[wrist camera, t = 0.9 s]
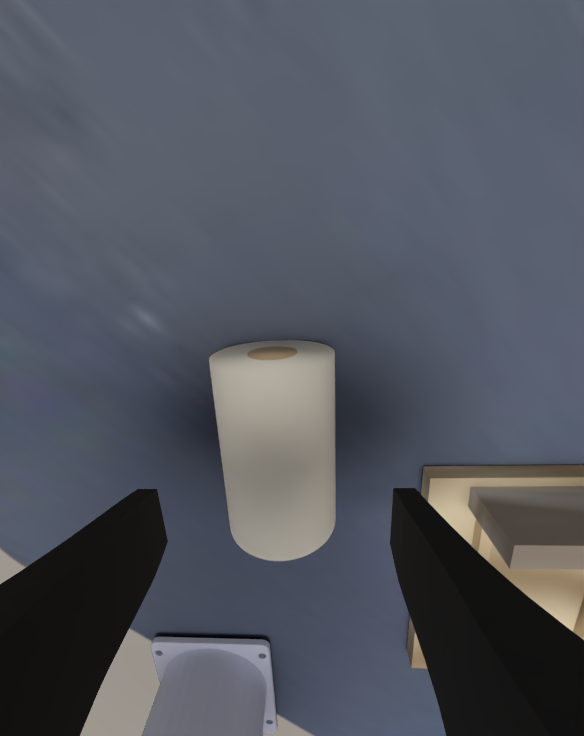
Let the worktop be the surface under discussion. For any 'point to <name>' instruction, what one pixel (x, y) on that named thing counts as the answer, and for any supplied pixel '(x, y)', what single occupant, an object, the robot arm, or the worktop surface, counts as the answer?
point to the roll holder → (518, 530)
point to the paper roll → (277, 444)
